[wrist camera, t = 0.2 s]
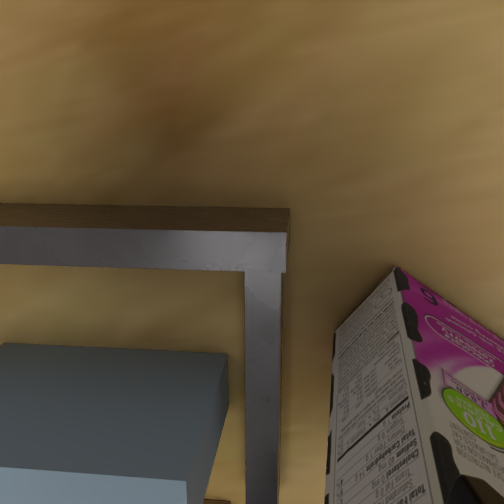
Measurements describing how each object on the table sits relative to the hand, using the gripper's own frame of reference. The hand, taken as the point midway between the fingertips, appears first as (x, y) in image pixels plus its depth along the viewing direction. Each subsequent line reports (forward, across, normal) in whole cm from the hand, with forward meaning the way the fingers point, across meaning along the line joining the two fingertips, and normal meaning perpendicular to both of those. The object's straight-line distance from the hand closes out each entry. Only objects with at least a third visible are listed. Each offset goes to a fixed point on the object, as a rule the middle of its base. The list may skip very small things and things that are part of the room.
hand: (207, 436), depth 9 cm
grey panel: (+14, +6, +9) cm, 18 cm away
